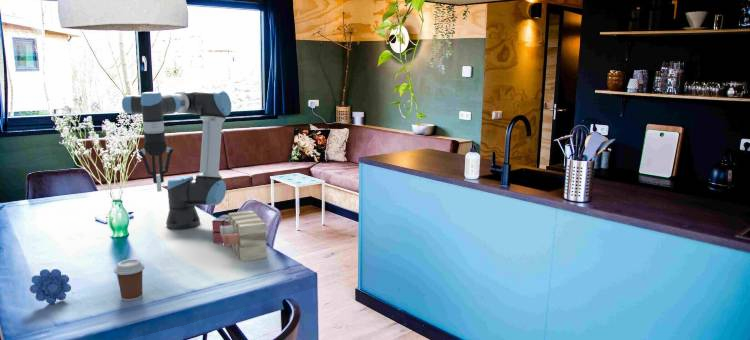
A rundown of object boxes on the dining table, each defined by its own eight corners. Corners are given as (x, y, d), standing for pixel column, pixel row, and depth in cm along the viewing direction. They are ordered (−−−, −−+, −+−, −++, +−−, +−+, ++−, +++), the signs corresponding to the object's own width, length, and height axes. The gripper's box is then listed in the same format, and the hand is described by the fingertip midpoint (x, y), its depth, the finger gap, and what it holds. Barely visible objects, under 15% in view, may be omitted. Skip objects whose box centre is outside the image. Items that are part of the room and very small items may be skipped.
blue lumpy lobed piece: (36, 313, 171) (31, 276, 169) (30, 306, 176) (25, 271, 174) (76, 301, 180) (72, 266, 177) (69, 295, 184) (65, 261, 182)
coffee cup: (111, 301, 179) (107, 266, 177) (127, 290, 188) (124, 257, 186) (136, 303, 178) (133, 268, 176) (152, 292, 187) (149, 258, 185)
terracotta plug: (222, 244, 218) (222, 232, 217) (257, 239, 224) (257, 228, 223) (225, 247, 214) (224, 236, 213) (260, 242, 220) (259, 231, 219)
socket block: (230, 244, 235) (228, 213, 232) (253, 241, 239) (252, 210, 236) (241, 261, 215) (239, 226, 213) (266, 257, 220) (265, 223, 217)
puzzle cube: (234, 244, 236) (233, 222, 234) (213, 243, 238) (211, 220, 236) (244, 237, 245) (243, 215, 243) (223, 236, 247) (222, 214, 245)
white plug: (220, 235, 229) (219, 224, 228) (253, 230, 235) (252, 220, 234) (222, 238, 225) (221, 227, 224) (255, 233, 231) (255, 223, 230)
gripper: (136, 134, 209) (142, 194, 214) (172, 132, 215) (177, 191, 220) (135, 132, 216) (141, 190, 221) (170, 129, 221) (175, 187, 226)
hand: (159, 190), depth 220 cm, fingers closed
